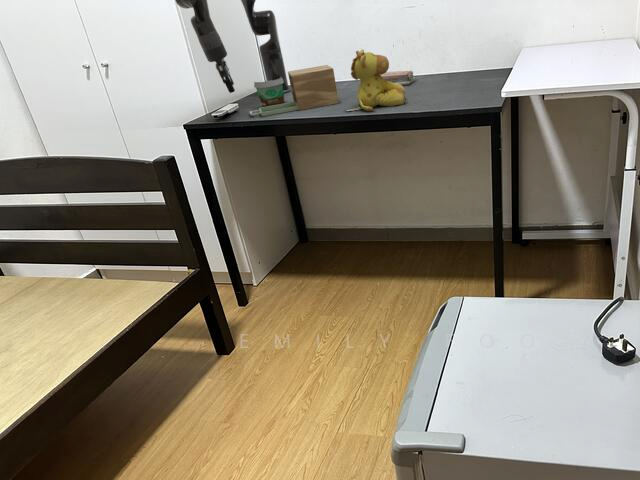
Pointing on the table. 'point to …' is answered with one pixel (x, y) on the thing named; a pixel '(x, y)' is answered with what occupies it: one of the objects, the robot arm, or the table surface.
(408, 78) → the packaged product
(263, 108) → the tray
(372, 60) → the giraffe plush
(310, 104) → the wooden block
